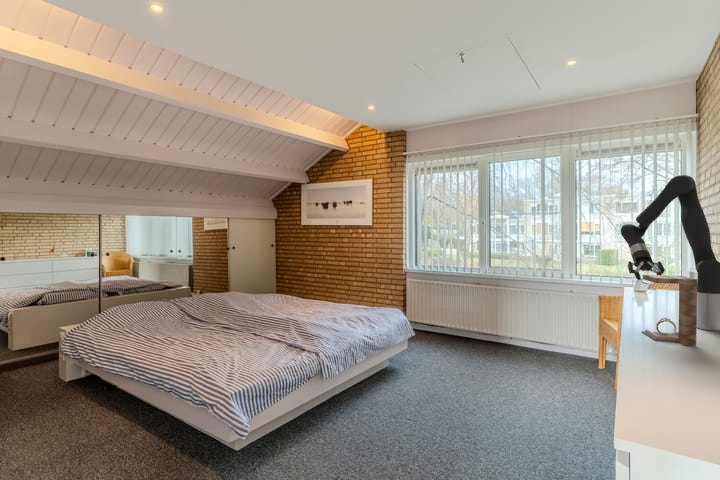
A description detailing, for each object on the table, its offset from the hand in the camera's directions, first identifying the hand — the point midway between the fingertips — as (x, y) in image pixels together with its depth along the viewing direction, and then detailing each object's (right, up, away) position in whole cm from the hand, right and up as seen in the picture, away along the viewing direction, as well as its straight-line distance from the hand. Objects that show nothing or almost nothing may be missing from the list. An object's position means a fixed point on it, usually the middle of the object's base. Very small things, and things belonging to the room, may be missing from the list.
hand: (649, 279), depth 188 cm
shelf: (-9, -24, -22) cm, 34 cm away
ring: (-6, -23, -18) cm, 30 cm away
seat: (-6, -24, -18) cm, 30 cm away
